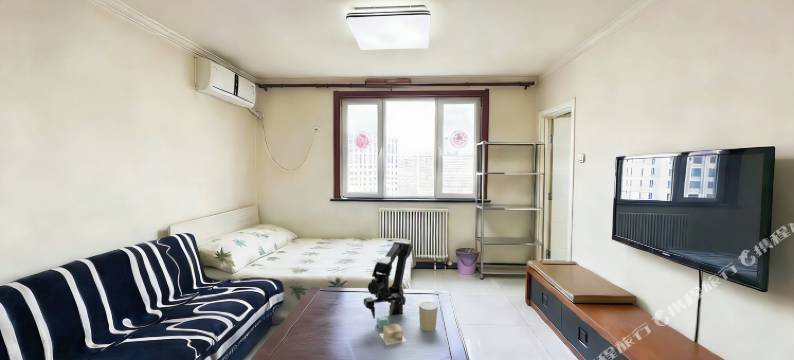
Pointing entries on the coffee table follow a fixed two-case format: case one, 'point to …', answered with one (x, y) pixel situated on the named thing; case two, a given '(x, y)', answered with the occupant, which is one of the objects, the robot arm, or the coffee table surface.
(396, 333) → the maple brick
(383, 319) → the teal block
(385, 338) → the baseplate
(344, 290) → the coffee table surface
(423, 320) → the coffee cup
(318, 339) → the coffee table surface
